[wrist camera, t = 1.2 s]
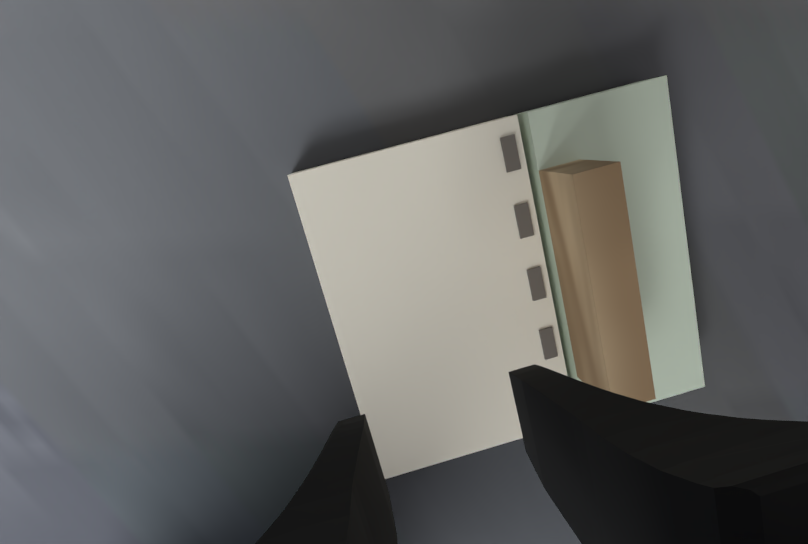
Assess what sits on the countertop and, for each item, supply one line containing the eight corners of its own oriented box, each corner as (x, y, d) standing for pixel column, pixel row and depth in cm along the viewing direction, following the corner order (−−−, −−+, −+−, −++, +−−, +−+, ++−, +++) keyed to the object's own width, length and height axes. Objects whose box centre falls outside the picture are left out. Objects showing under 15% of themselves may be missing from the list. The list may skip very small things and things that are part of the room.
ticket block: (377, 458, 22) (380, 482, 21) (291, 173, 19) (286, 175, 18) (561, 404, 23) (577, 423, 21) (503, 116, 20) (518, 114, 18)
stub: (569, 404, 23) (622, 462, 18) (513, 114, 20) (560, 105, 15) (681, 371, 23) (758, 421, 19) (642, 80, 20) (723, 62, 16)
